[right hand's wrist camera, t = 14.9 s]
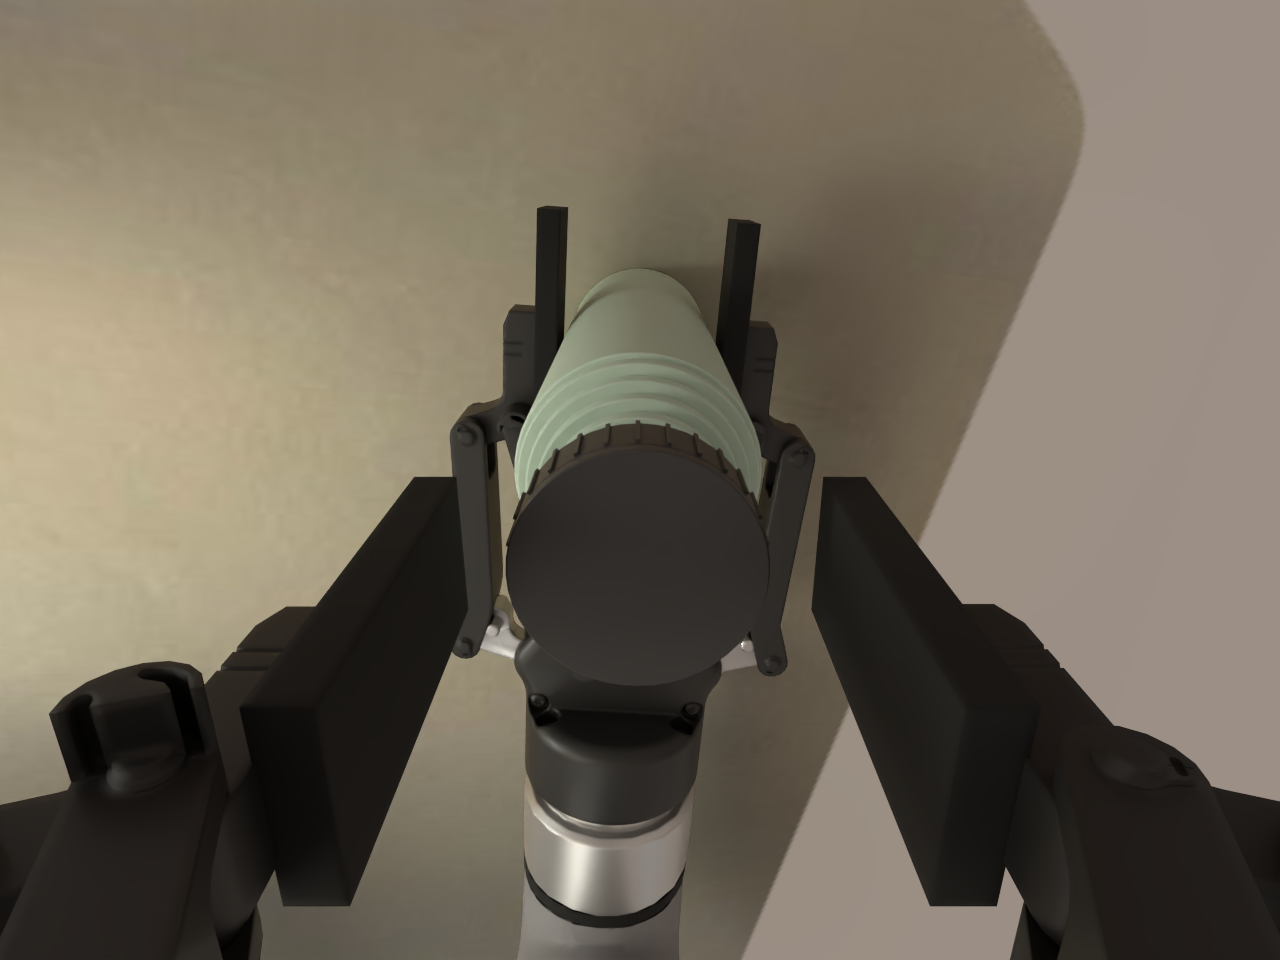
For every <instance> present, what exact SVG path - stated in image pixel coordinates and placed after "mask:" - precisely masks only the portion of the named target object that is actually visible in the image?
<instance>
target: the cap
mask: <svg viewBox="0 0 1280 960" xmlns="http://www.w3.org/2000/svg"><path fill="white" fill-rule="evenodd" d="M513 519H515V521H514V523H513V526H512V529H511V531H510V534H509V537H508V540H507V543H506V546H508V548H507V555H506V580H507V587H508V592H509V595H510V598H511V602H512V605H513V607H514V609H515V612H516V614H517V616H518V618H519V620H520V622H521V623H522V625H523V626H524V628H525V629H526V631H527V633H528V634H529V635H530V636H531V637H532V639H533V640H534V641H535V642H536V643H537V644H538V645H539V646H540V647H541V648H542V649H543V650H544V651H545V652H546V653H547V654H548V655H550V656H551V657H552V658H554V659H555V660H557V661H558V662H559V663H561V664H562V665H564V666H566V667H568V668H570V669H571V670H573V671H575V672H577V673H580V674H582V675H585V676H587V677H589V678H593V679H596V680H600V681H603V682H607V683H613V684H619V685H633V686H643V685H657V684H663V683H669V682H673V681H676V680H680V679H683V678H687V677H689V676H691V675H694V674H696V673H699V672H701V671H703V670H705V669H706V668H708V667H710V666H712V665H714V664H715V663H717V662H718V661H719V660H721V659H722V658H724V657H725V656H726V655H728V654H729V653H730V652H731V651H732V650H733V649H734V648H735V647H736V646H737V645H738V644H739V643H740V642H741V641H742V640H743V638H744V637H745V636H746V635H747V634H748V632H749V631H750V629H751V628H752V626H753V625H754V623H755V621H756V620H757V618H758V616H759V614H760V611H761V609H762V607H763V605H764V602H765V598H766V595H767V591H768V586H769V579H770V556H769V549H768V546H770V543H769V540H768V537H767V534H766V531H765V529H764V526H763V523H762V520H761V519H763V517H762V514H761V511H760V509H759V506H758V503H757V500H756V498H755V495H754V492H749V490H748V488H747V485H746V482H745V480H744V477H743V474H742V471H741V470H740V468H738V469H737V470H736V469H735V468H734V466H733V465H732V464H731V463H730V462H729V461H728V460H727V459H726V458H725V457H724V454H723V451H722V450H721V449H720V448H718V450H716V449H715V448H713V447H712V446H710V445H709V444H707V443H706V442H704V441H703V440H701V439H699V436H698V434H696V433H694V434H693V435H691V434H688V433H686V432H683V431H681V430H677V429H674V428H671V426H670V424H668V423H666V424H665V426H661V425H655V424H643V423H640V420H636V423H635V424H621V425H615V426H611V424H610V423H608V424H606V426H605V428H602V429H599V430H596V431H593V432H590V433H588V434H585V435H583V434H582V433H580V434H578V436H577V439H575V440H573V441H572V442H570V443H569V444H567V445H566V446H564V447H563V448H561V449H560V450H558V449H557V448H556V449H555V450H554V451H553V454H552V457H551V458H550V459H549V460H548V461H547V462H546V463H545V464H544V465H543V466H542V468H541V469H540V470H539V469H538V468H536V470H535V471H534V474H533V477H532V480H531V482H530V485H529V488H528V490H527V492H526V493H525V492H523V493H522V495H521V498H520V500H519V503H518V506H517V508H516V511H515V514H514V517H513Z"/></svg>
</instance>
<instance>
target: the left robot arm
mask: <svg viewBox="0 0 1280 960" xmlns="http://www.w3.org/2000/svg"><path fill="white" fill-rule="evenodd" d="M567 226H568V207H557V206H544V207H540V208H537V244H536V296H535V306H532V305H517V304H515V305H514V306H513V307H512V308H511V309H510V310H509V313H508V315H507V317H506V320H505V322H504V325H503V341H504V343H503V395H502V397H500V398H499V399H496V400H493V401H490V402H486V403H473V404H472V405H470V406H468V408H467V409H466V410H465V411H464V413H463V414H462V415H461V417H460V418H459V419H458V421H457V422H456V423H455V425H454V426H453V428H452V429H451V432H450V445H451V459H452V473H453V477H457V487H458V498H459V509H460V520H461V532H462V543H463V554H464V565H465V576H466V587H467V598H468V609H469V610H468V612H467V615H466V617H465V620H464V622H463V625H462V627H461V630H460V632H459V635H458V637H457V640H456V642H455V645H454V647H453V650H452V652H453V653H454V654H455V655H456V656H458V657H460V658H465V659H467V658H472V657H474V656H475V655H477V653H478V652H479V650H480V649H482V650H485V651H488V652H491V653H494V654H498V655H501V656H504V657H507V658H510V659H513V660H514V664H515V668H516V670H517V672H518V674H519V675H520V677H521V678H522V680H523V682H524V685H525V688H526V748H525V764H526V771H527V774H526V779H525V794H524V864H525V874H524V892H523V910H522V926H521V936H520V944H519V951H518V957H517V960H679V922H680V909H681V896H682V883H683V876H684V871H685V863H686V858H687V854H688V846H689V837H690V829H691V820H692V812H693V803H694V790H695V784H694V782H695V779H696V774H697V768H698V759H699V751H700V742H701V734H702V725H703V717H704V708H705V702H706V699H707V697H708V695H709V693H710V691H711V690H712V689H713V688H714V686H715V685H716V684H717V683H718V681H719V679H720V677H721V673H722V672H725V671H730V670H735V669H740V668H745V667H750V666H755V665H757V666H758V669H759V671H760V672H761V673H762V674H764V675H766V676H777V675H780V674H781V673H783V672H784V671H785V669H786V667H787V656H786V651H785V646H784V641H783V636H782V631H781V626H780V625H781V620H782V615H783V611H784V606H785V601H786V596H787V592H788V587H789V582H790V577H791V573H792V568H793V563H794V558H795V554H796V549H797V544H798V539H799V534H800V530H801V525H802V520H803V515H804V511H805V506H806V501H807V496H808V492H809V487H810V482H811V477H812V473H813V468H814V463H815V453H814V451H813V449H812V447H811V446H810V444H809V442H808V441H807V439H806V438H805V436H804V435H803V433H802V432H801V430H800V429H799V428H798V427H797V426H796V425H794V424H791V423H784V422H781V421H779V420H777V419H775V418H773V417H771V416H770V415H769V405H770V398H771V390H772V383H773V375H774V368H775V359H776V353H777V345H778V343H777V339H776V335H775V331H774V328H773V327H772V326H771V325H770V324H769V323H768V322H763V321H750V312H751V304H752V296H753V287H754V279H755V270H756V262H757V253H758V245H759V236H760V228H761V224H759V223H756V222H753V221H750V220H739V219H728V228H727V237H726V247H725V257H724V266H723V276H722V286H721V295H720V305H719V315H718V324H717V334H716V346H717V349H718V351H719V353H720V355H721V357H722V359H723V361H724V364H725V366H726V368H727V370H728V372H729V374H730V376H731V379H732V381H733V383H734V385H735V387H736V389H737V391H738V394H739V396H740V398H741V400H742V402H743V404H744V406H745V409H746V411H747V413H748V415H749V417H750V419H751V422H752V424H753V426H754V428H755V431H756V434H757V438H758V441H759V445H760V451H761V457H763V458H766V459H767V462H766V467H765V473H764V478H763V483H762V489H761V494H760V500H759V505H758V506H759V509H760V511H761V514H762V517H763V519H761V520H762V523H763V526H764V529H765V531H766V534H767V537H768V540H769V543H770V546H768V549H769V556H770V579H769V586H768V591H767V595H766V598H765V602H764V605H763V607H762V609H761V611H760V614H759V616H758V618H757V620H756V621H755V623H754V625H753V626H752V628H751V629H750V631H749V632H748V634H747V635H746V636H745V637H744V638H743V640H742V641H741V642H740V643H739V644H738V645H737V646H736V647H735V648H734V649H733V650H732V651H731V652H730V653H729V654H728V655H726V656H725V657H724V658H722V659H721V660H719V661H718V662H717V663H715V664H714V665H712V666H710V667H708V668H706V669H705V670H703V671H701V672H699V673H696V674H694V675H691V676H689V677H687V678H683V679H680V680H676V681H673V682H669V683H663V684H657V685H643V686H633V685H619V684H613V683H607V682H603V681H600V680H596V679H593V678H589V677H587V676H585V675H582V674H580V673H577V672H575V671H573V670H571V669H570V668H568V667H566V666H564V665H562V664H561V663H559V662H558V661H557V660H555V659H554V658H552V657H551V656H550V655H548V654H547V653H546V652H545V651H544V650H543V649H542V648H541V647H540V646H539V645H538V644H537V643H536V642H535V641H534V640H533V639H532V637H531V636H530V635H529V634H528V633H527V631H526V629H524V628H522V627H520V626H519V625H517V624H516V622H515V621H514V618H513V606H512V604H511V603H510V602H509V600H508V598H507V597H506V596H504V595H499V592H500V589H501V584H502V578H503V559H502V539H501V519H500V499H499V478H498V458H497V442H499V441H502V440H506V444H507V447H508V450H509V454H510V457H511V460H512V464H513V467H514V470H515V454H516V447H517V442H518V439H519V436H520V432H521V429H522V427H523V425H524V422H525V420H526V418H527V416H528V414H529V412H530V409H531V407H532V405H533V403H534V401H535V399H536V397H537V395H538V393H539V390H540V388H541V386H542V384H543V382H544V380H545V378H546V376H547V374H548V371H549V369H550V367H551V365H552V363H553V361H554V359H555V357H556V355H557V352H558V350H559V348H560V346H561V344H562V342H563V340H564V318H565V287H566V257H567Z"/></svg>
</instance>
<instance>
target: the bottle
mask: <svg viewBox="0 0 1280 960" xmlns="http://www.w3.org/2000/svg"><path fill="white" fill-rule="evenodd" d="M636 420H640V423H643V424H655V425H661V426H665V424H666V423H668V424H670V426H671V428H674V429H677V430H681V431H683V432H686V433H688V434H691V435H693V434H694V433H696V434H698V436H699V439H701V440H703V441H704V442H706V443H707V444H709V445H710V446H712V447H713V448H715V449H716V450H718V448H720V449H721V450H722V451H723V454H724V457H725V458H726V459H727V460H728V461H729V462H730V463H731V464H732V465H733V466H734V468H735V469H736V470H737V469H738V468H740V470H741V471H742V474H743V477H744V480H745V482H746V485H747V488H748V490H749V492H754V495H755V498H756V500H757V498H758V494H759V491H760V484H761V477H762V458H761V451H760V445H759V441H758V438H757V434H756V431H755V428H754V426H753V424H752V422H751V419H750V417H749V415H748V413H747V411H746V409H745V406H744V404H743V402H742V400H741V398H740V396H739V394H738V391H737V389H736V387H735V385H734V383H733V381H732V379H731V376H730V374H729V372H728V370H727V368H726V366H725V364H724V361H723V359H722V357H721V355H720V353H719V351H718V349H717V346H716V344H715V342H714V340H713V338H712V336H711V334H710V332H709V329H708V327H707V325H706V323H705V321H704V319H703V317H702V314H701V312H700V310H699V308H698V306H697V304H696V302H695V300H694V299H693V297H692V296H691V294H690V293H689V292H688V291H687V289H686V288H685V287H683V286H682V285H681V284H680V283H679V282H678V281H676V280H675V279H673V278H672V277H670V276H668V275H666V274H664V273H661V272H658V271H654V270H649V269H639V268H638V269H628V270H623V271H619V272H616V273H614V274H611V275H609V276H607V277H605V278H604V279H602V280H601V281H600V282H598V283H597V284H596V285H595V286H594V287H593V288H591V290H590V291H589V292H588V293H587V294H586V296H585V297H584V299H583V300H582V302H581V304H580V306H579V308H578V310H577V312H576V314H575V317H574V319H573V321H572V323H571V325H570V327H569V329H568V331H567V333H566V336H565V338H564V340H563V342H562V344H561V346H560V348H559V350H558V352H557V355H556V357H555V359H554V361H553V363H552V365H551V367H550V369H549V371H548V374H547V376H546V378H545V380H544V382H543V384H542V386H541V388H540V390H539V393H538V395H537V397H536V399H535V401H534V403H533V405H532V407H531V409H530V412H529V414H528V416H527V418H526V420H525V422H524V425H523V427H522V429H521V432H520V436H519V439H518V442H517V447H516V454H515V481H516V489H517V493H518V496H519V500H520V498H521V495H522V493H523V492H525V493H526V492H527V490H528V488H529V485H530V482H531V480H532V477H533V474H534V471H535V470H536V468H538V469H539V470H540V469H541V468H542V466H543V465H544V464H545V463H546V462H547V461H548V460H549V459H550V458H551V457H552V454H553V451H554V450H555V449H556V448H557V449H558V450H560V449H561V448H563V447H564V446H566V445H567V444H569V443H570V442H572V441H573V440H575V439H577V436H578V434H580V433H582V434H583V435H585V434H588V433H590V432H593V431H596V430H599V429H602V428H605V426H606V424H608V423H610V424H611V426H615V425H621V424H635V423H636Z"/></svg>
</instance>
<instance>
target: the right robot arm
mask: <svg viewBox="0 0 1280 960" xmlns="http://www.w3.org/2000/svg"><path fill="white" fill-rule="evenodd" d="M468 610H469V609H468V598H467V587H466V576H465V565H464V554H463V543H462V532H461V520H460V509H459V498H458V487H457V477H414V478H413V479H412V481H411V482H410V483H409V485H408V486H407V487H406V489H405V490H404V491H403V493H402V494H401V495H400V497H399V498H398V499H397V500H396V502H395V503H394V504H393V506H392V507H391V508H390V510H389V511H388V512H387V514H386V515H385V516H384V518H383V519H382V520H381V521H380V523H379V524H378V525H377V527H376V528H375V529H374V531H373V532H372V533H371V535H370V536H369V537H368V539H367V540H366V541H365V542H364V544H363V545H362V546H361V548H360V549H359V550H358V552H357V553H356V554H355V556H354V557H353V558H352V560H351V561H350V562H349V564H348V565H347V566H346V567H345V569H344V570H343V571H342V573H341V574H340V575H339V577H338V578H337V579H336V581H335V582H334V583H333V585H332V586H331V587H330V588H329V590H328V591H327V592H326V594H325V595H324V596H323V598H322V599H321V600H320V602H319V603H318V604H317V606H316V607H285V608H283V609H282V610H280V611H279V612H277V613H275V614H274V615H272V616H271V617H269V618H267V619H266V620H264V621H262V622H261V623H259V624H258V625H256V626H255V627H254V628H253V630H252V631H251V632H250V633H249V634H248V635H247V636H246V638H245V639H244V640H243V641H242V642H241V643H240V645H239V646H238V647H237V652H233V653H232V654H231V655H230V656H229V657H228V658H227V660H226V661H225V662H224V663H223V664H222V665H221V670H220V671H216V672H215V674H214V675H213V676H212V677H211V678H210V679H209V680H208V682H207V683H206V684H205V685H204V681H203V677H202V673H201V672H199V671H198V670H196V669H195V668H194V667H192V666H191V665H189V664H183V663H178V662H172V661H164V662H151V663H142V664H138V665H134V666H130V667H126V668H122V669H118V670H114V671H112V672H110V673H107V674H105V675H103V676H100V677H98V678H95V679H93V680H91V681H88V682H86V683H85V684H83V685H82V686H80V687H79V688H77V689H76V690H74V691H73V692H71V693H69V694H68V695H66V696H65V697H63V699H62V700H61V701H60V702H59V703H58V704H57V705H56V706H55V708H54V709H53V710H52V711H51V712H50V713H49V716H50V719H51V722H52V725H53V728H54V731H55V734H56V737H57V740H58V743H59V746H60V749H61V752H62V755H63V758H64V761H65V765H66V768H67V771H68V774H69V777H70V780H71V784H70V787H69V789H68V790H66V791H62V792H59V793H54V794H50V795H45V796H40V797H36V798H31V799H26V800H22V801H17V802H12V803H7V804H3V805H0V960H260V954H261V946H262V937H263V934H262V927H261V921H260V916H259V912H258V907H257V902H258V900H259V898H260V896H261V894H262V893H263V891H264V889H265V887H266V885H267V883H268V881H269V879H270V877H271V876H272V874H273V872H274V870H275V872H276V876H277V881H278V885H279V890H280V894H281V899H282V903H283V906H350V905H351V902H352V900H353V897H354V895H355V892H356V890H357V887H358V885H359V882H360V880H361V877H362V875H363V872H364V870H365V867H366V865H367V862H368V860H369V857H370V855H371V852H372V850H373V847H374V845H375V842H376V840H377V837H378V835H379V832H380V830H381V827H382V825H383V822H384V820H385V817H386V815H387V812H388V810H389V807H390V805H391V802H392V800H393V797H394V795H395V792H396V790H397V787H398V785H399V782H400V780H401V777H402V775H403V772H404V770H405V767H406V765H407V762H408V760H409V757H410V755H411V752H412V750H413V747H414V745H415V742H416V740H417V737H418V735H419V732H420V730H421V727H422V725H423V722H424V720H425V717H426V715H427V712H428V710H429V707H430V705H431V702H432V700H433V697H434V695H435V692H436V690H437V687H438V685H439V682H440V680H441V677H442V675H443V672H444V670H445V667H446V665H447V662H448V660H449V657H450V655H451V652H452V650H453V647H454V645H455V642H456V640H457V637H458V635H459V632H460V630H461V627H462V625H463V622H464V620H465V617H466V615H467V612H468ZM811 610H812V612H813V615H814V617H815V620H816V622H817V625H818V627H819V630H820V632H821V635H822V637H823V640H824V642H825V645H826V647H827V650H828V652H829V655H830V657H831V660H832V662H833V665H834V667H835V670H836V672H837V675H838V677H839V680H840V682H841V685H842V687H843V690H844V692H845V695H846V697H847V700H848V702H849V705H850V707H851V710H852V712H853V715H854V717H855V720H856V722H857V725H858V727H859V730H860V732H861V735H862V737H863V740H864V742H865V745H866V747H867V750H868V752H869V755H870V757H871V760H872V762H873V765H874V767H875V770H876V772H877V775H878V777H879V780H880V782H881V785H882V787H883V789H884V792H885V795H886V797H887V800H888V802H889V805H890V807H891V810H892V812H893V815H894V817H895V820H896V822H897V825H898V827H899V830H900V832H901V835H902V837H903V840H904V842H905V845H906V847H907V850H908V852H909V855H910V857H911V860H912V862H913V865H914V867H915V870H916V872H917V875H918V877H919V880H920V882H921V885H922V887H923V890H924V892H925V894H926V897H927V899H928V902H929V905H930V906H997V903H998V898H999V894H1000V889H1001V885H1002V881H1003V876H1004V872H1005V867H1006V868H1007V870H1008V872H1009V873H1010V875H1011V877H1012V879H1013V881H1014V883H1015V885H1016V887H1017V888H1018V890H1019V892H1020V894H1021V896H1022V898H1023V900H1024V903H1023V907H1022V912H1021V916H1020V920H1019V924H1018V928H1017V933H1016V937H1015V941H1014V945H1013V949H1012V953H1011V958H1010V960H1280V801H1275V800H1270V799H1265V798H1261V797H1256V796H1251V795H1247V794H1242V793H1237V792H1232V791H1228V790H1223V789H1219V788H1216V787H1212V786H1211V785H1210V783H1209V781H1208V780H1207V778H1206V777H1205V776H1204V774H1203V773H1202V772H1201V770H1200V769H1199V768H1198V766H1197V765H1196V764H1195V763H1194V762H1193V761H1191V760H1190V759H1189V758H1187V757H1186V756H1185V755H1183V754H1182V753H1181V752H1179V751H1178V750H1177V749H1175V748H1174V747H1172V746H1170V745H1168V744H1166V743H1164V742H1162V741H1160V740H1158V739H1156V738H1154V737H1152V736H1150V735H1148V734H1145V733H1141V732H1138V731H1134V730H1131V729H1127V728H1124V727H1120V726H1114V725H1113V724H1112V723H1111V722H1110V721H1109V719H1108V718H1107V717H1106V716H1105V715H1104V714H1103V713H1102V711H1101V710H1100V709H1099V708H1098V707H1097V706H1096V704H1095V703H1094V702H1093V701H1092V700H1091V699H1090V698H1089V696H1088V695H1087V694H1086V693H1085V692H1084V691H1083V690H1082V688H1081V687H1080V686H1079V685H1078V684H1077V683H1076V681H1075V680H1074V679H1073V678H1072V677H1071V676H1070V675H1069V674H1068V672H1067V671H1066V670H1065V669H1064V668H1060V663H1059V662H1058V661H1057V660H1056V659H1055V657H1054V656H1053V655H1052V654H1051V653H1050V652H1049V650H1048V649H1044V645H1043V644H1042V642H1041V641H1040V640H1039V639H1038V638H1037V637H1036V636H1035V634H1034V633H1033V632H1032V631H1031V630H1030V629H1029V627H1028V626H1027V625H1026V624H1025V623H1024V622H1022V621H1021V620H1019V619H1017V618H1016V617H1014V616H1012V615H1011V614H1009V613H1008V612H1006V611H1004V610H1003V609H1001V608H999V607H998V606H996V605H995V604H962V603H961V602H960V600H959V599H958V598H957V596H956V595H955V594H954V592H953V591H952V590H951V589H950V587H949V586H948V585H947V583H946V582H945V581H944V579H943V578H942V577H941V575H940V574H939V573H938V571H937V570H936V569H935V567H934V566H933V565H932V564H931V562H930V561H929V560H928V558H927V557H926V556H925V554H924V553H923V552H922V550H921V549H920V548H919V546H918V545H917V544H916V543H915V541H914V540H913V539H912V537H911V536H910V535H909V533H908V532H907V531H906V529H905V528H904V527H903V525H902V524H901V523H900V522H899V520H898V519H897V518H896V516H895V515H894V514H893V512H892V511H891V510H890V508H889V507H888V506H887V504H886V503H885V502H884V501H883V499H882V498H881V497H880V495H879V494H878V493H877V491H876V490H875V489H874V487H873V486H872V485H871V483H870V482H869V481H868V480H867V478H866V477H823V487H822V498H821V509H820V520H819V531H818V542H817V554H816V565H815V576H814V587H813V598H812V609H811Z"/></svg>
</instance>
